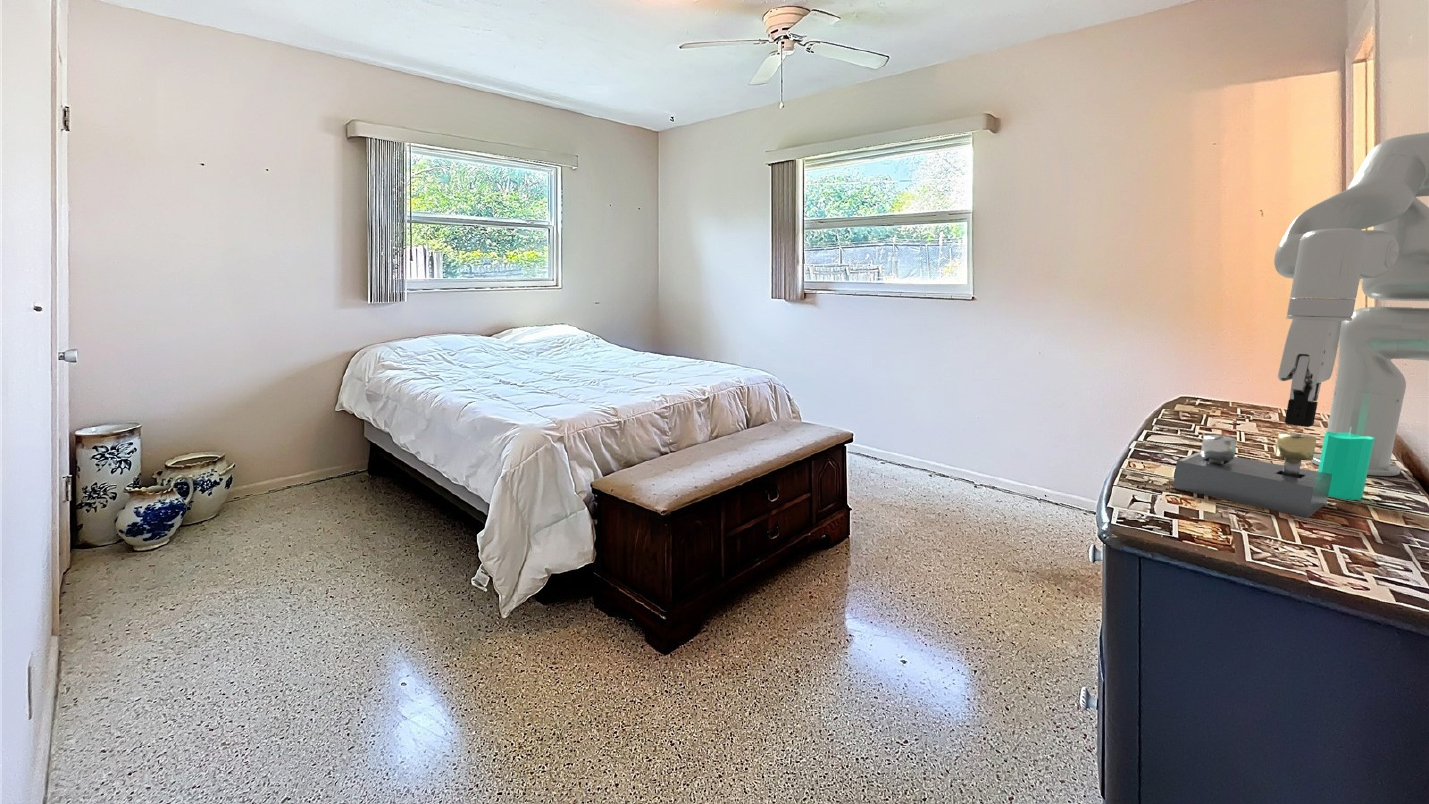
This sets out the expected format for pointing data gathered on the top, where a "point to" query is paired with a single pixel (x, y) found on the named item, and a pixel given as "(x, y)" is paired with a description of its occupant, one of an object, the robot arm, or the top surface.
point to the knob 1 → (1218, 448)
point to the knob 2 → (1294, 451)
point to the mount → (1254, 484)
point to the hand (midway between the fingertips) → (1298, 424)
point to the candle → (1346, 463)
